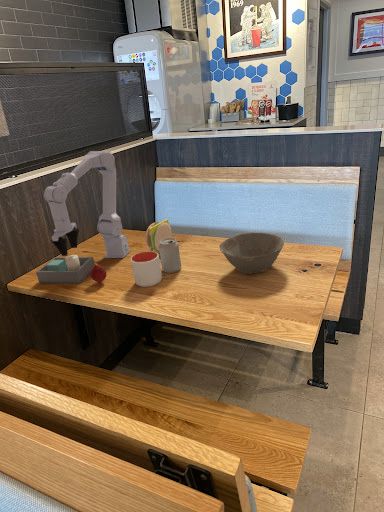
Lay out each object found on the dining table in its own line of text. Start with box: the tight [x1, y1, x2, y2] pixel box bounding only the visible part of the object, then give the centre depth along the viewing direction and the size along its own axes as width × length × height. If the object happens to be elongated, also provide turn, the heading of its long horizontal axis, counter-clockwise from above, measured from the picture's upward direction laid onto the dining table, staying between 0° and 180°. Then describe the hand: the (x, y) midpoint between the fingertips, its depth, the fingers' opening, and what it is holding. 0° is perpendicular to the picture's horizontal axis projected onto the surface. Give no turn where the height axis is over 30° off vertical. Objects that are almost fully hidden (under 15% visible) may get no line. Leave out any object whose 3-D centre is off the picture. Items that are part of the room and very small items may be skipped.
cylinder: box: [65, 254, 81, 271], centre depth 155 cm, size 5×5×7 cm
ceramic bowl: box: [218, 232, 285, 274], centre depth 141 cm, size 22×23×10 cm
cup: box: [130, 250, 163, 288], centre depth 142 cm, size 10×10×10 cm
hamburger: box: [144, 218, 173, 254], centre depth 169 cm, size 12×8×12 cm
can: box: [158, 237, 182, 274], centre depth 149 cm, size 8×8×12 cm
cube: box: [46, 260, 67, 271], centre depth 157 cm, size 5×5×5 cm
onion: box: [89, 262, 108, 284], centre depth 146 cm, size 6×6×8 cm
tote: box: [35, 256, 95, 285], centre depth 156 cm, size 18×14×5 cm
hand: (69, 251), depth 152 cm, fingers open, 7 cm apart
